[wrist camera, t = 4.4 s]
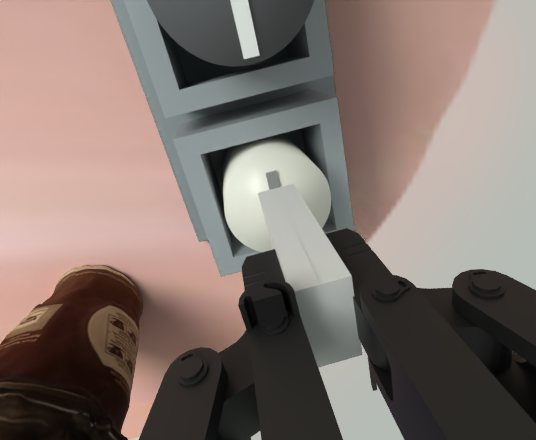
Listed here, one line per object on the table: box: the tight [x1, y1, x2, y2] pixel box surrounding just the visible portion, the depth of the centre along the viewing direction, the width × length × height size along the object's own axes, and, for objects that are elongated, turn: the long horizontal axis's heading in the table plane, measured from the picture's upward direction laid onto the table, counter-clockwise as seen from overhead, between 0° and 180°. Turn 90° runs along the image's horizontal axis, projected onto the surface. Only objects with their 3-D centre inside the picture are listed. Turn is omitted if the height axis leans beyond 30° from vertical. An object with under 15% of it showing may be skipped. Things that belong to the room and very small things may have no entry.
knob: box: [222, 134, 331, 252], centre depth 19 cm, size 5×5×6 cm
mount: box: [111, 0, 355, 277], centre depth 17 cm, size 26×11×6 cm, turn 13°
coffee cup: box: [0, 266, 143, 440], centre depth 20 cm, size 9×8×13 cm
